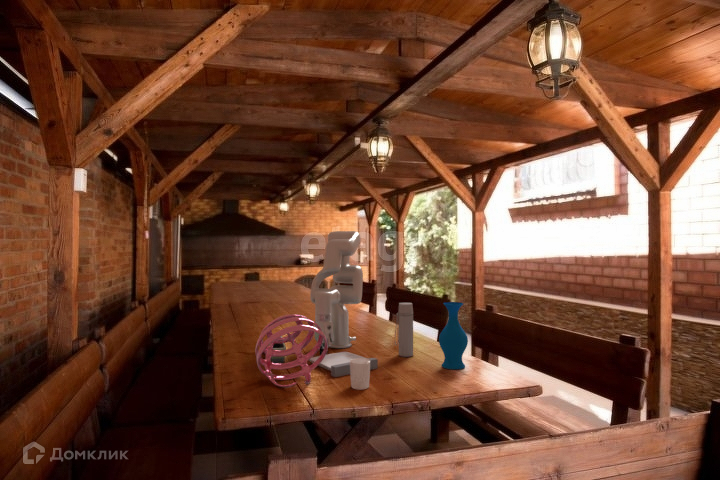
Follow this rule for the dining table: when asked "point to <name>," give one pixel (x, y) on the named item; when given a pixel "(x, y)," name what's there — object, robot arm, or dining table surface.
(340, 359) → the salad plate
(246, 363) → the dining table surface
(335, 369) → the rail
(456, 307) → the vase
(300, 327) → the spiral basket
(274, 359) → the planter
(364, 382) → the white cup
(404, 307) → the water bottle
